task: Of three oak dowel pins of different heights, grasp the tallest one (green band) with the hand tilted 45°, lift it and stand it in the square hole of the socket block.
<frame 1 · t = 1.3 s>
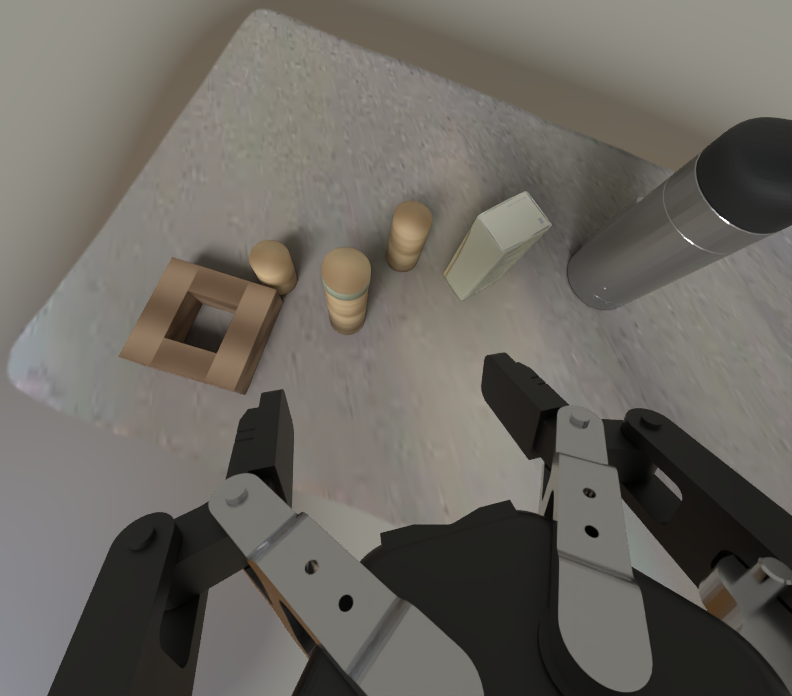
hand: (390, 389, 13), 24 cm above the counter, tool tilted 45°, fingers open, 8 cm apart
skincare box: (469, 279, 42), on the counter
short pin: (279, 279, 39), on the counter
tall pin: (347, 318, 39), on the counter
socket block: (215, 331, 36), on the counter
medium pin: (401, 257, 42), on the counter
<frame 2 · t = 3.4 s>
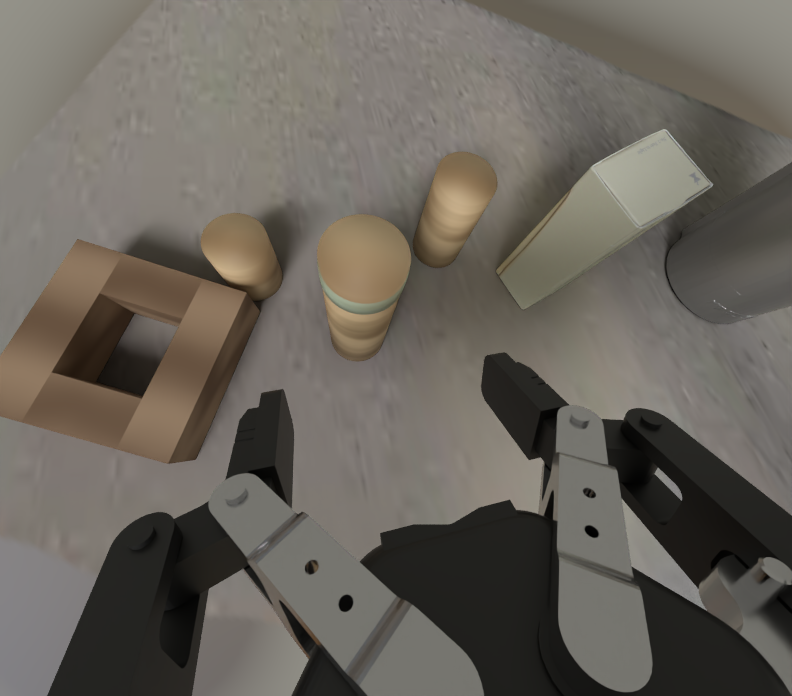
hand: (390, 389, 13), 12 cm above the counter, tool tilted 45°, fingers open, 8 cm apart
skincare box: (532, 278, 30), on the counter
short pin: (255, 276, 26), on the counter
tall pin: (357, 336, 26), on the counter
socket block: (152, 357, 23), on the counter
medium pin: (435, 246, 29), on the counter
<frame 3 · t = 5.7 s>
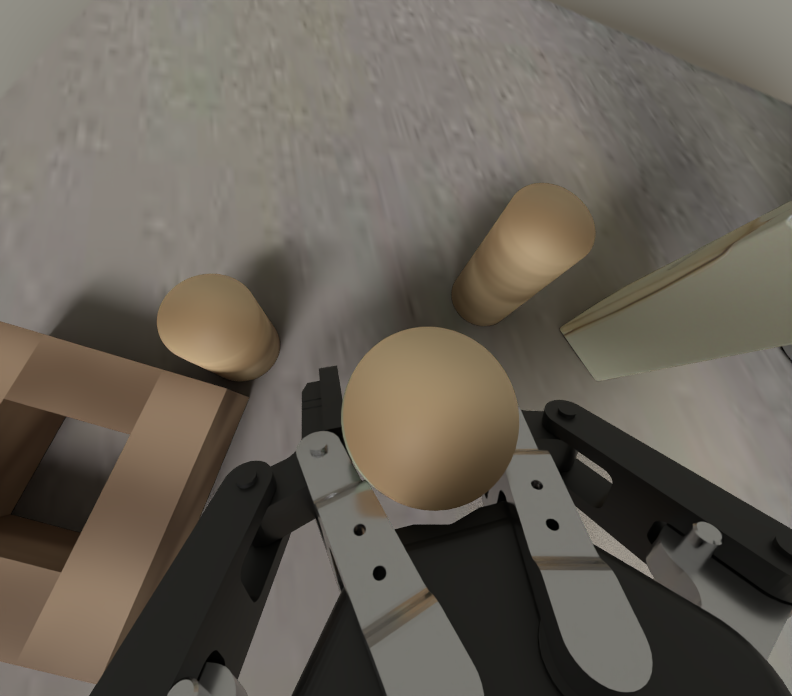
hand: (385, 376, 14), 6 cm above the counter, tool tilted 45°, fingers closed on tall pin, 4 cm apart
skincare box: (605, 337, 23), on the counter
short pin: (243, 346, 19), on the counter
tall pin: (381, 427, 19), on the counter, touching gripper
socket block: (95, 472, 16), on the counter
medium pin: (480, 297, 22), on the counter
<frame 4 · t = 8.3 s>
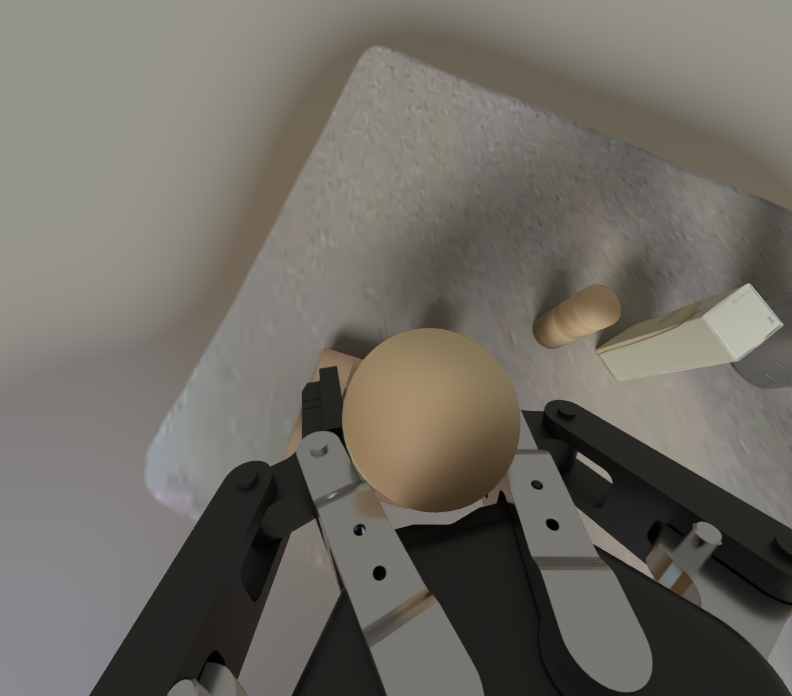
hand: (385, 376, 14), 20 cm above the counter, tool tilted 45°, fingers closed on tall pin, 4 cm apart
skincare box: (622, 354, 38), on the counter
tall pin: (382, 428, 19), point 14 cm above the counter, touching gripper
socket block: (362, 425, 32), on the counter
medium pin: (549, 331, 37), on the counter
when the fingers open (8 cm above the counter, at t = 10.9 s): tall pin drops 2 cm, resting in socket block.
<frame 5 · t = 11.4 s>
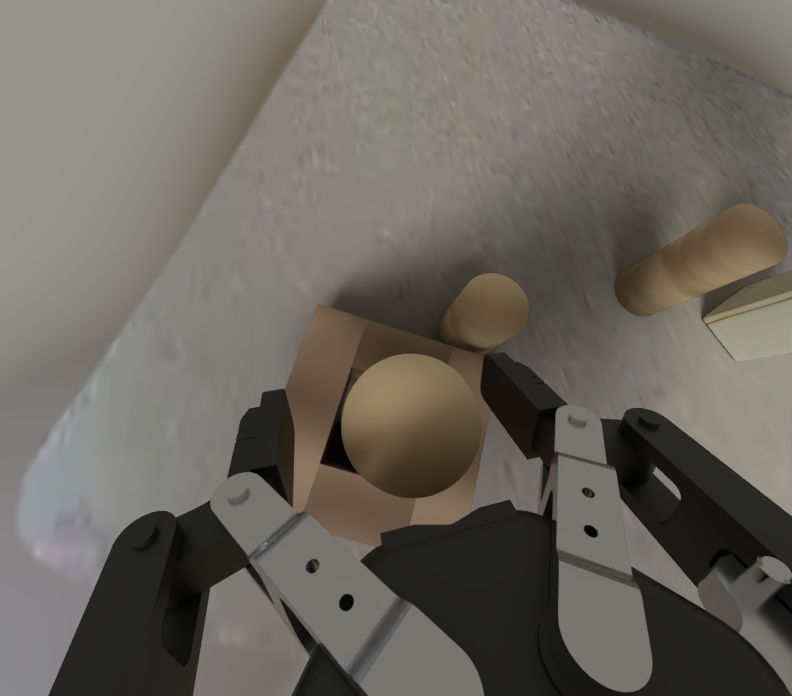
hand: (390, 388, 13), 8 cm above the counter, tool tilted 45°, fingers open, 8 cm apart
skincare box: (737, 325, 27), on the counter
short pin: (465, 331, 24), on the counter
tall pin: (378, 430, 21), resting in socket block
socket block: (377, 428, 21), on the counter
medium pin: (637, 292, 26), on the counter
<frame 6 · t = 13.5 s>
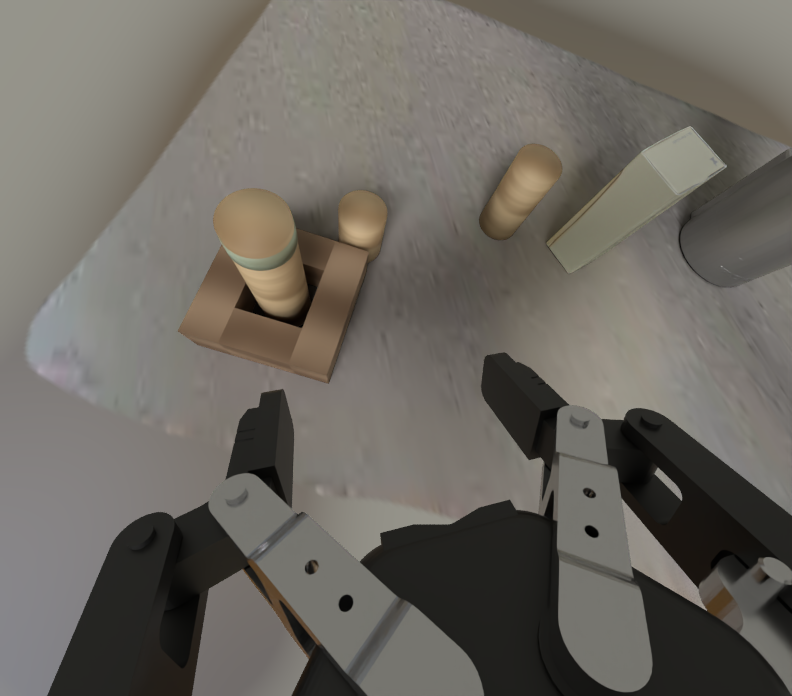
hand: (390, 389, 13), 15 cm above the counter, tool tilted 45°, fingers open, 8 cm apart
skincare box: (574, 250, 36), on the counter
short pin: (359, 245, 32), on the counter
tall pin: (288, 307, 29), resting in socket block
socket block: (287, 306, 29), on the counter
medium pin: (497, 223, 35), on the counter
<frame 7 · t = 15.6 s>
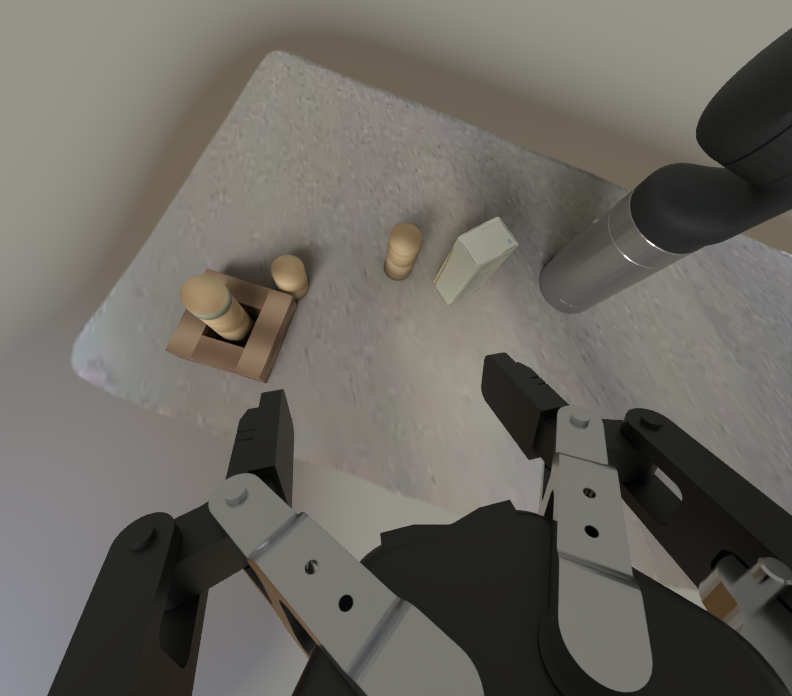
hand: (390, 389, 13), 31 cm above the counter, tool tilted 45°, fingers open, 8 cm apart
skincare box: (455, 286, 50), on the counter
short pin: (293, 286, 46), on the counter
tall pin: (241, 331, 43), resting in socket block
socket block: (241, 330, 43), on the counter
medium pin: (397, 268, 49), on the counter
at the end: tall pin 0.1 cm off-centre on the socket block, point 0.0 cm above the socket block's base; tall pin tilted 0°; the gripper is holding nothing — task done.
